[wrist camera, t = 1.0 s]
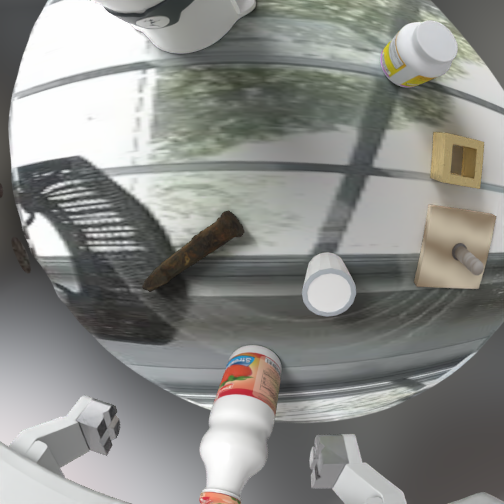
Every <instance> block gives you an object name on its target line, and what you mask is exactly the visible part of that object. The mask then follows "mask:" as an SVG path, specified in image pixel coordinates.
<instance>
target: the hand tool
mask: <svg viewBox="0 0 504 504" xmlns="http://www.w3.org/2000/svg"><path fill="white" fill-rule="evenodd" d="M243 233H244V230H243V227H242V225H241V224H240V222H239V220H238V219H237V218H236V216H235V215H234V214H233V213H232V212H230V211H225V212H223V213H222V215H221V217H220V218H218V219H217V222H215V223H213V224H212V225H210V226H209V227H207V228H206V229H205V230H203V231H201V232H200V233H199V234H198V235H195V236H194V237H193V238H192V240H191V241H190V242H189V243H187V244H186V245H185V246H183V247H182V248H181V249H180V250H178V251H177V252H176V253H174V254H173V255H172V256H171V257H169V258H168V259H167V260H165V261H164V262H163V263H161V265H160V266H158V267H157V268H156V269H155V270H154V271H153V272H152V273H151V274H150V276H149V277H148V278H147V279H146V280H145V281H144V285H143V289H144V290H148V291H149V292H151V291H153V290H155V289H157V288H159V287H160V286H162V285H164V284H166V283H167V282H169V281H170V280H171V279H172V278H173V277H175V276H177V275H178V274H179V273H181V272H182V271H184V270H185V269H187V268H189V267H190V266H192V265H194V264H195V263H196V262H198V261H199V260H201V259H202V258H204V257H205V256H207V255H208V254H210V253H212V252H213V251H215V250H216V249H218V248H219V247H221V246H222V245H224V244H225V243H226V242H228V241H229V240H231V239H232V238H234V237H241V236H242V235H243Z"/></svg>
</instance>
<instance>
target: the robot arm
mask: <svg viewBox="0 0 504 504" xmlns="http://www.w3.org/2000/svg"><path fill="white" fill-rule="evenodd" d="M90 1H93V2H95V3H98V4H100V5H102V6H104V8H105V9H106V10H107V11H108V12H109V13H111V14H113V15H115V16H116V17H118V18H120V19H122V20H124V21H126V22H128V23H130V25H131V26H132V27H133V28H135V29H136V30H138V31H141V32H143V33H144V34H145V35H146V36H147V37H148V38H149V39H150V41H151V42H152V43H153V44H154V45H155V46H156V47H158V48H159V49H161V50H164V51H166V52H170V53H177V54H182V53H191V52H195V51H199V50H201V49H204V48H206V47H208V46H210V45H212V44H214V43H215V42H217V41H218V40H219V39H221V38H222V37H223V36H224V35H225V34H226V33H227V32H228V31H229V30H230V29H231V27H232V26H233V25H234V23H235V22H236V21H237V20H238V19H239V18H241V17H243V16H244V15H246V14H248V13H249V12H251V11H252V10H253V9H254V8H255V7H256V1H255V0H90ZM116 413H117V409H116V406H114V405H112V404H109V403H106V402H103V401H100V400H97V399H94V398H91V397H88V396H85V395H84V396H82V397H81V398H80V399H79V400H78V402H77V403H76V404H75V406H74V407H73V408H72V409H71V410H70V412H69V413H68V414H67V416H66V417H64V416H62V417H59V418H56V419H54V420H51V421H48V422H45V423H42V424H40V425H37V426H34V427H31V428H28V429H25V430H22V431H21V432H20V433H19V435H18V436H17V437H16V438H15V439H14V441H13V442H12V443H11V444H10V445H9V447H8V446H6V445H5V444H3V443H2V442H0V504H131V503H128V502H125V501H122V500H119V499H115V498H113V497H110V496H107V495H105V494H102V493H99V492H97V491H94V490H92V489H89V488H87V487H85V486H82V485H80V484H77V483H75V482H73V481H71V480H69V479H66V478H65V476H64V475H63V473H62V471H61V469H60V467H62V466H64V465H66V464H68V463H69V462H71V461H73V460H74V459H76V458H78V457H80V456H81V455H83V454H85V453H87V452H88V451H89V450H91V451H94V452H97V453H100V454H103V455H106V456H107V454H108V452H109V451H110V449H111V447H112V442H111V441H112V440H114V439H116V438H117V436H118V434H119V430H120V420H119V418H118V417H117V416H116ZM310 468H311V469H312V470H313V472H312V474H311V483H312V488H333V490H334V491H335V493H336V494H337V495H338V496H339V497H340V498H341V500H342V501H343V502H344V503H345V504H407V503H406V500H405V497H404V493H403V492H402V491H401V490H400V489H398V488H397V487H396V486H395V485H393V484H392V483H391V482H389V481H388V480H387V479H386V478H384V477H383V476H382V475H380V474H379V473H378V472H377V471H376V470H374V469H373V468H372V467H371V466H369V465H368V464H367V463H363V462H362V459H361V455H360V451H359V447H358V444H357V440H356V437H355V435H354V434H342V435H341V434H333V435H317V436H316V439H315V446H314V447H312V450H311V453H310ZM449 504H504V502H503V501H501V500H499V499H498V498H496V497H493V496H492V495H489V494H487V493H484V492H482V493H477V494H474V495H471V496H469V497H466V498H463V499H461V500H458V501H455V502H452V503H449Z"/></svg>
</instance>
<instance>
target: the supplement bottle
mask: <svg viewBox="0 0 504 504" xmlns="http://www.w3.org/2000/svg"><path fill="white" fill-rule="evenodd" d="M457 50H458V47H457V42H456V39H455V37H454V35H453V34H452V33H451V31H450V30H449V29H448V28H447V27H445V26H444V25H443V24H441V23H439V22H436V21H432V20H428V21H424V22H422V23H420V22H414V23H410V24H407V25H406V26H404V27H403V28H402V29H401V30H400V31H399V32H398V33H397V34H396V36H395V37H394V38H393V39H392V40H391V41H390V42H389V43H388V44H387V46H386V47H385V48H384V49H383V51H382V53H381V56H380V64H381V68H382V70H383V72H384V74H385V75H386V77H387V78H388V79H389V80H390V81H392V82H393V83H394V84H396V85H398V86H401V87H406V88H411V87H415V86H418V85H420V84H422V83H425V82H427V81H429V80H432V79H434V78H437V77H439V76H441V75H443V74H445V73H446V72H447V71H448V70H449V68H450V66H451V64H452V60H453V59H454V58H455V57H456V55H457Z"/></svg>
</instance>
